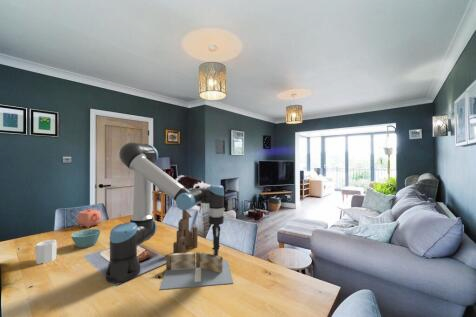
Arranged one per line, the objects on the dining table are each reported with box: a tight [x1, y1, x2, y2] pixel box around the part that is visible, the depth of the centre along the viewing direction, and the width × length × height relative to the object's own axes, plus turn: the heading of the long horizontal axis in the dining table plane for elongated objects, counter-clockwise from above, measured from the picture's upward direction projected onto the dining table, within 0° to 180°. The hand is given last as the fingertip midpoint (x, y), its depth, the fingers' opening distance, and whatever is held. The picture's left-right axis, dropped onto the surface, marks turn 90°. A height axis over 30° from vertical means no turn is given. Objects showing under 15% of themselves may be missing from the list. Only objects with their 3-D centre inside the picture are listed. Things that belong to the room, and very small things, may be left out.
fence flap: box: [200, 252, 223, 273], centre depth 107 cm, size 12×2×7 cm, turn 66°
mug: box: [34, 239, 58, 265], centre depth 117 cm, size 12×9×10 cm
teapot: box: [76, 208, 102, 229], centre depth 178 cm, size 22×13×14 cm, turn 71°
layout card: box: [159, 259, 234, 291], centre depth 104 cm, size 32×22×1 cm
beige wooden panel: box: [165, 251, 202, 271], centre depth 109 cm, size 17×2×8 cm, turn 99°
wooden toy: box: [172, 210, 199, 254], centre depth 132 cm, size 15×7×25 cm, turn 152°
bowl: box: [70, 228, 102, 249], centre depth 138 cm, size 16×16×8 cm
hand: (215, 260), depth 109 cm, fingers closed
